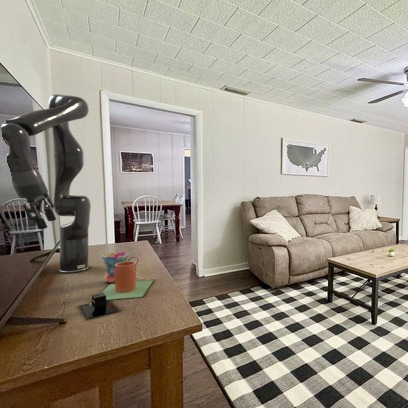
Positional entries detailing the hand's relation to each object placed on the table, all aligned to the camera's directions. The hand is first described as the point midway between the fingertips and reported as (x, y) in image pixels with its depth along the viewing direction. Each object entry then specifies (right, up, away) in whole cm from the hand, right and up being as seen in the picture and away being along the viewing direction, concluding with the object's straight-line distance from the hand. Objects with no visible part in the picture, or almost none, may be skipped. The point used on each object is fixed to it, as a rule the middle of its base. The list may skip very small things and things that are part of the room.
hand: (48, 224), depth 104 cm
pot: (+28, -25, +1) cm, 37 cm away
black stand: (+31, -26, -14) cm, 43 cm away
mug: (+18, -24, +11) cm, 32 cm away
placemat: (+28, -25, +2) cm, 37 cm away
